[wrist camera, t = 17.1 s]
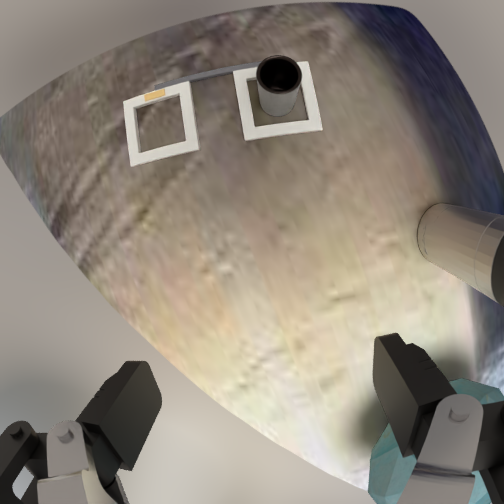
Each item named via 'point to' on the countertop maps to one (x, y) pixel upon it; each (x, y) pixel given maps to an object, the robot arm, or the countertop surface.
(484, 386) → the sculpture
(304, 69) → the socket
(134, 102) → the socket
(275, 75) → the planter
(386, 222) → the countertop surface
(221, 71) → the thin gray bar
